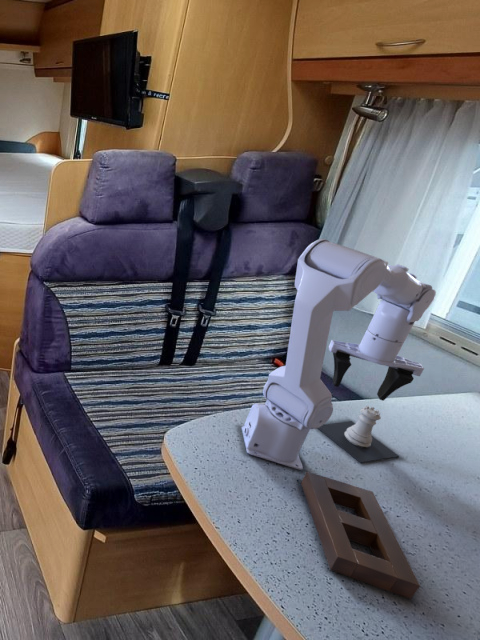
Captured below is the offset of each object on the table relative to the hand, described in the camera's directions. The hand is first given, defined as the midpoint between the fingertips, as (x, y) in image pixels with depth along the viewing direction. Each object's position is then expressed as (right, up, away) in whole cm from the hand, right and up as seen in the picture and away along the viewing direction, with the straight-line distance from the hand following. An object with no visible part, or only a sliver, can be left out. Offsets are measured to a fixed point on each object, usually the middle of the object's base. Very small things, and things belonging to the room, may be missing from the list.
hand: (357, 390), depth 96 cm
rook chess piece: (+1, -11, +1) cm, 11 cm away
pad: (+1, -11, +1) cm, 11 cm away
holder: (-18, -18, -20) cm, 32 cm away
